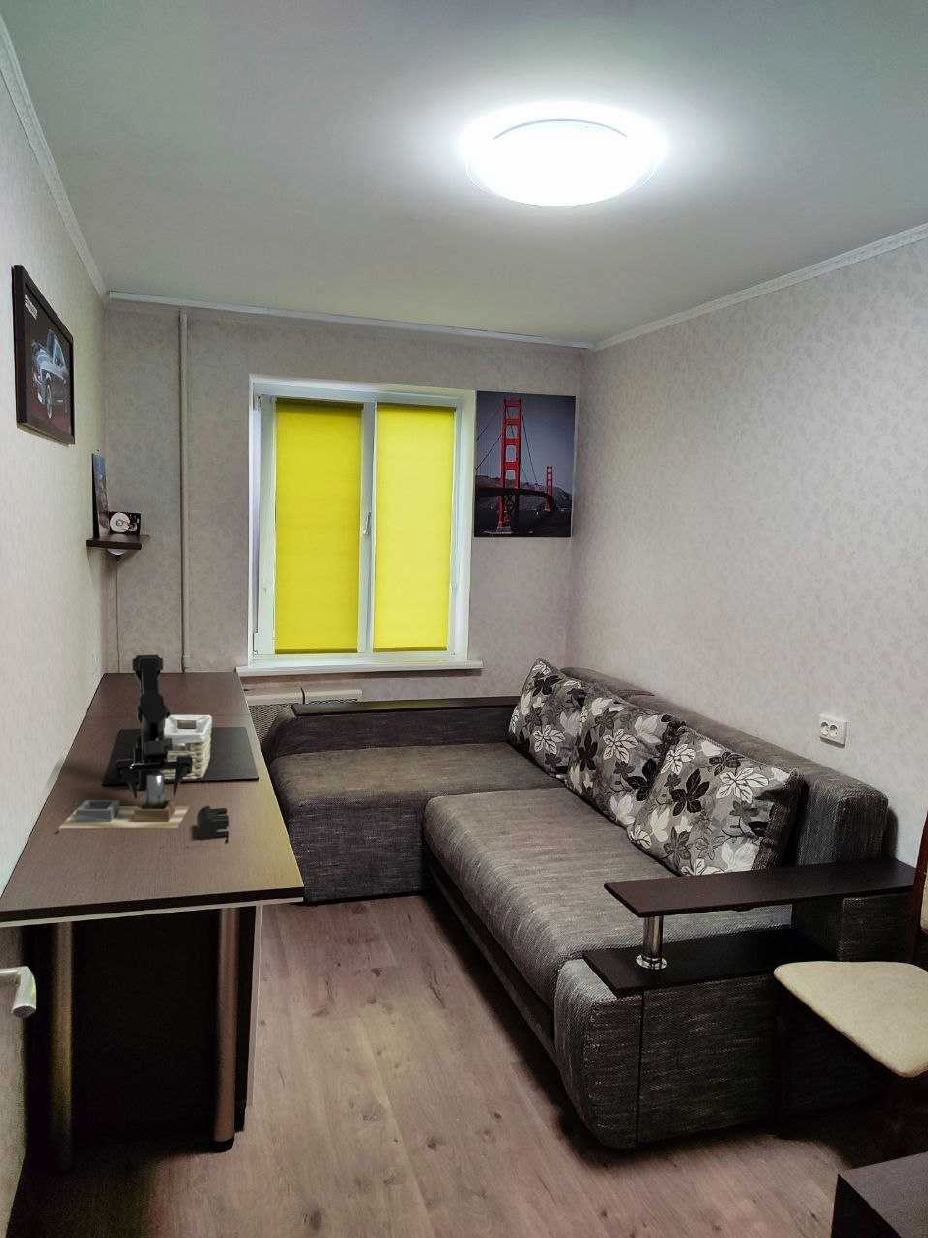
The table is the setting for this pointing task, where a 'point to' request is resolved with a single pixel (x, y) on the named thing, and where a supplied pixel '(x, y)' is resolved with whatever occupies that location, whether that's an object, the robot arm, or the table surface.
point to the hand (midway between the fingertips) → (155, 796)
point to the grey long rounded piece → (155, 790)
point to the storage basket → (189, 743)
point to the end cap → (212, 823)
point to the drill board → (124, 815)
